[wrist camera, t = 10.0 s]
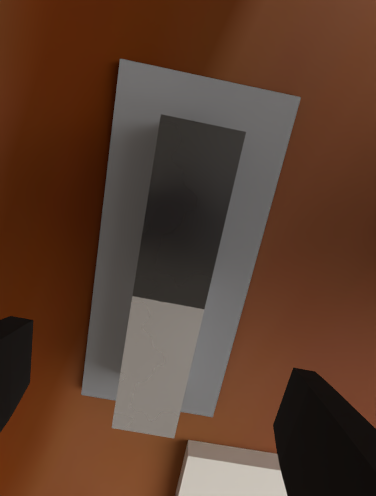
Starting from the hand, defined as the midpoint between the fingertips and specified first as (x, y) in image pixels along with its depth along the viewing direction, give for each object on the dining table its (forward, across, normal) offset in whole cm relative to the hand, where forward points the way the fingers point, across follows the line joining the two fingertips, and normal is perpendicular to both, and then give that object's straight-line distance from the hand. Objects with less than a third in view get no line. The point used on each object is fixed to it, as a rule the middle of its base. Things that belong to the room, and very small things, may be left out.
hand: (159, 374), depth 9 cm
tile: (+8, -7, +12) cm, 16 cm away
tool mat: (+9, 0, 0) cm, 9 cm away
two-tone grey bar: (+8, 0, 0) cm, 8 cm away
